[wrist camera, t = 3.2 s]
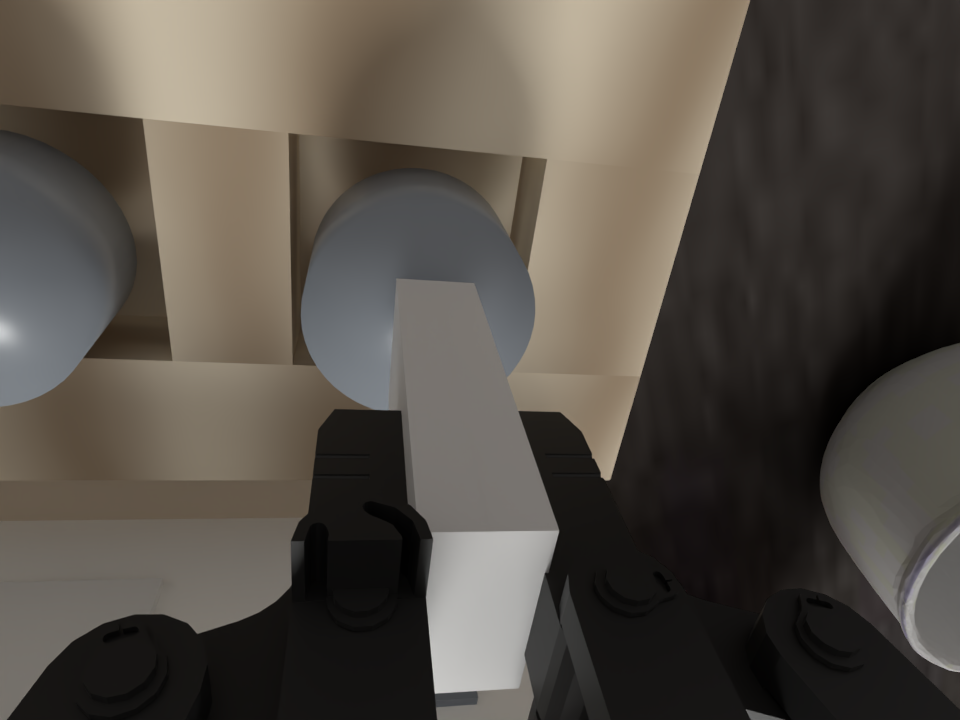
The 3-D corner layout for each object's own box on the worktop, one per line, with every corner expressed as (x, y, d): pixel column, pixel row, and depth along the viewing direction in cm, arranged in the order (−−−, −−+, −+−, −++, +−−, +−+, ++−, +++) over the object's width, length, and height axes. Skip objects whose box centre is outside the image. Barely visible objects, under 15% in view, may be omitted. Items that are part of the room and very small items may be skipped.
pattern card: (-289, 572, 21) (-733, 969, 13) (-367, 452, 19) (-982, 843, 10) (481, 554, 26) (536, 830, 18) (498, 458, 24) (571, 723, 15)
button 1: (311, 349, 17) (301, 414, 14) (311, 157, 15) (299, 194, 12) (495, 356, 18) (516, 418, 15) (523, 177, 16) (554, 216, 13)
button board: (-532, 408, 17) (-687, 480, 15) (-1072, -291, 11) (-1530, -378, 8) (583, 426, 24) (610, 480, 21) (693, -8, 17) (752, -7, 14)
